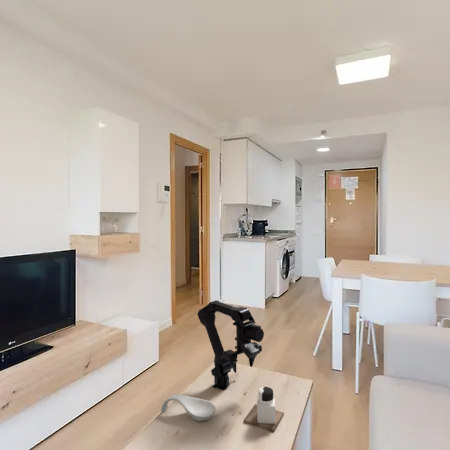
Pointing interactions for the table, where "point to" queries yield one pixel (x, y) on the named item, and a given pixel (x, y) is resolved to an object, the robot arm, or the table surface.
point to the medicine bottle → (265, 406)
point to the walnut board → (252, 420)
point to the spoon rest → (193, 406)
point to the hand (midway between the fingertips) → (243, 369)
